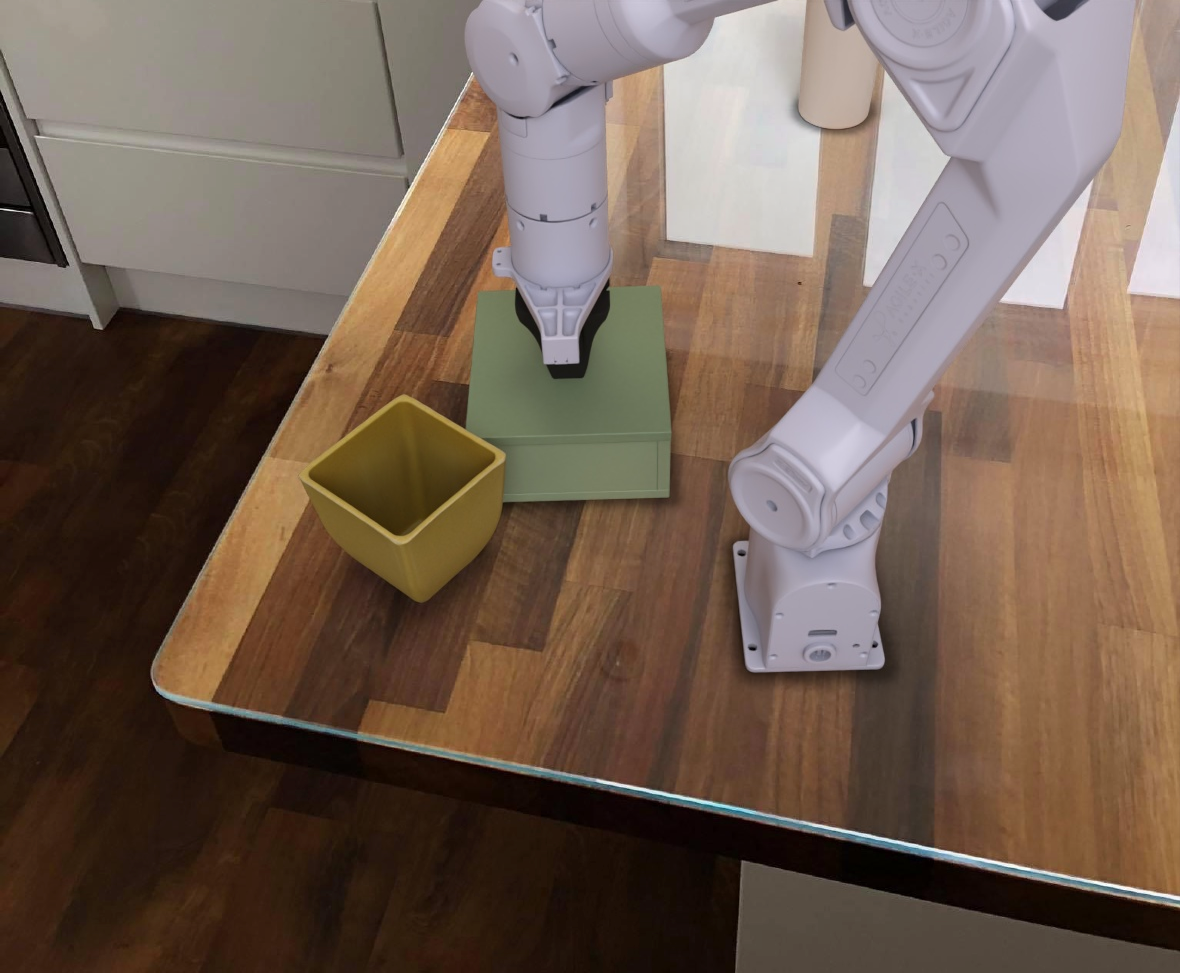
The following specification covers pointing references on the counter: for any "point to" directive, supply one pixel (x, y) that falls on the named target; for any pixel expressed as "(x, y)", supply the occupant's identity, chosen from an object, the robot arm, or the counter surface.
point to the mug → (834, 72)
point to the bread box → (587, 471)
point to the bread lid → (570, 406)
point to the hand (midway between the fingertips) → (568, 371)
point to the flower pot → (409, 495)
